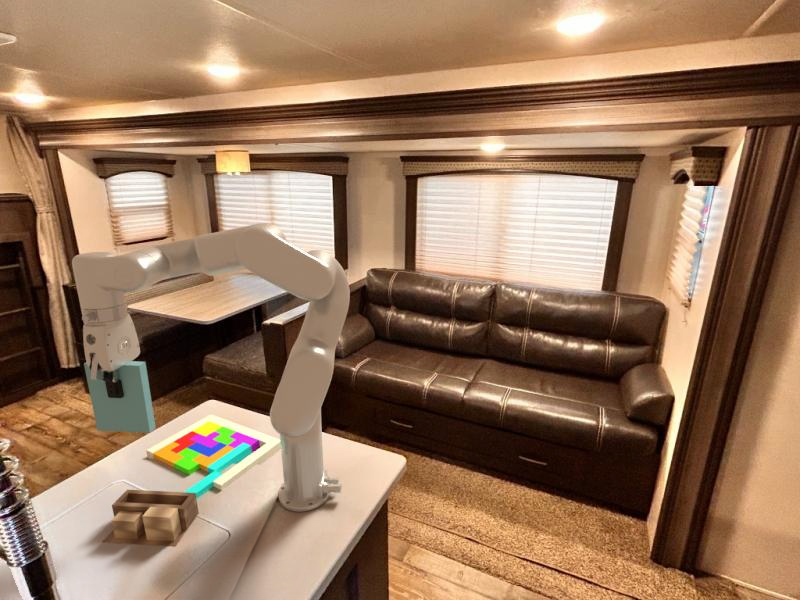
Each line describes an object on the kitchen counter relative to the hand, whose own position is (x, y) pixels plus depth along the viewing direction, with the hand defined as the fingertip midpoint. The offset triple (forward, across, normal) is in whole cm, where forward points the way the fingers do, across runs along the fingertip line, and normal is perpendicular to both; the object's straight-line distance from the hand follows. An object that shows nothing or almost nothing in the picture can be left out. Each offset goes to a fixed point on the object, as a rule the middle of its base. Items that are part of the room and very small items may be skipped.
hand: (120, 393), depth 90 cm
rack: (+29, -7, -7) cm, 31 cm away
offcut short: (+28, -9, -4) cm, 30 cm away
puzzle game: (+30, +17, -6) cm, 35 cm away
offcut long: (+28, -9, -11) cm, 32 cm away
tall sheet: (+9, 0, 0) cm, 9 cm away
